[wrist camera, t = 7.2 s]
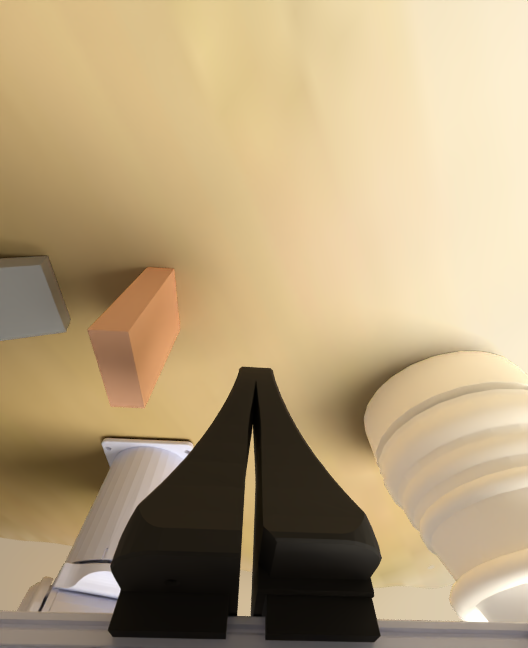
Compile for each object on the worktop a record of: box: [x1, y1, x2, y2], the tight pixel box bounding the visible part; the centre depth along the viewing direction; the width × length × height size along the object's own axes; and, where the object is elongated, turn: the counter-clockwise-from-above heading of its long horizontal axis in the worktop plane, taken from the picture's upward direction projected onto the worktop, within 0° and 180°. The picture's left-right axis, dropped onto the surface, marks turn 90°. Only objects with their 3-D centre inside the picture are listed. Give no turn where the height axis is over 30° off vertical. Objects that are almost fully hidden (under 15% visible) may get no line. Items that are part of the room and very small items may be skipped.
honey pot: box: [364, 351, 528, 623], centre depth 17 cm, size 13×13×18 cm
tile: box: [88, 267, 180, 408], centre depth 16 cm, size 4×2×7 cm, turn 176°
